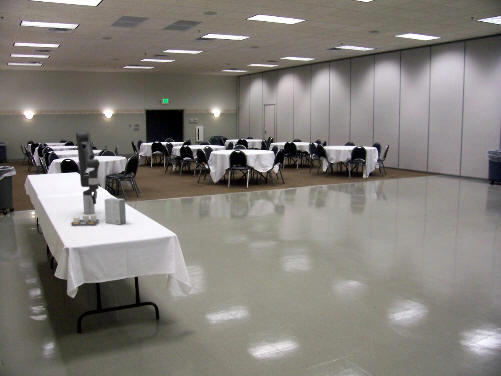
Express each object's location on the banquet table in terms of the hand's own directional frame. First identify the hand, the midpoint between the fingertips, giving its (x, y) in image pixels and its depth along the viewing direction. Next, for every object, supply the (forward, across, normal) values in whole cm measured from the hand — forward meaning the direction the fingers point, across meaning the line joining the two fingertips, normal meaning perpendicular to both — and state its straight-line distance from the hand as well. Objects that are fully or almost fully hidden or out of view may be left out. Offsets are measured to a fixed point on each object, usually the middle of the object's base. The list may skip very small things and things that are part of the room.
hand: (94, 203), depth 406 cm
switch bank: (+15, +10, -6) cm, 19 cm away
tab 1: (+13, +14, -12) cm, 22 cm away
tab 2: (+13, +7, -6) cm, 16 cm away
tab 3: (+13, +7, 0) cm, 15 cm away
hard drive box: (+15, +8, +18) cm, 25 cm away
